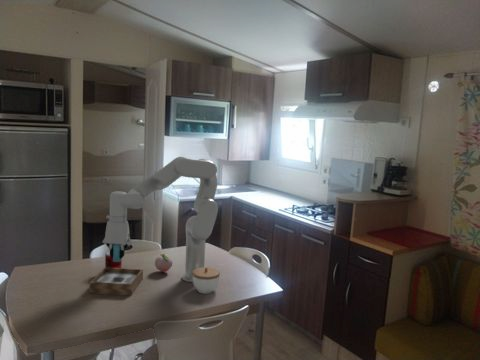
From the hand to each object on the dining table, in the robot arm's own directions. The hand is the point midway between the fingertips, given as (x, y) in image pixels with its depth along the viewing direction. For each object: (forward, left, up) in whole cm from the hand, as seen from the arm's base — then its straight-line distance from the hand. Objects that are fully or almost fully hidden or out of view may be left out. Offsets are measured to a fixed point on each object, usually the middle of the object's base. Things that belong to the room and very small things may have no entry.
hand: (117, 257), depth 179 cm
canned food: (+7, -15, -14) cm, 22 cm away
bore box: (0, 0, -14) cm, 14 cm away
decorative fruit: (-17, -20, -14) cm, 30 cm away
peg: (0, 0, -2) cm, 2 cm away
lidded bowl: (-41, -1, -14) cm, 44 cm away
